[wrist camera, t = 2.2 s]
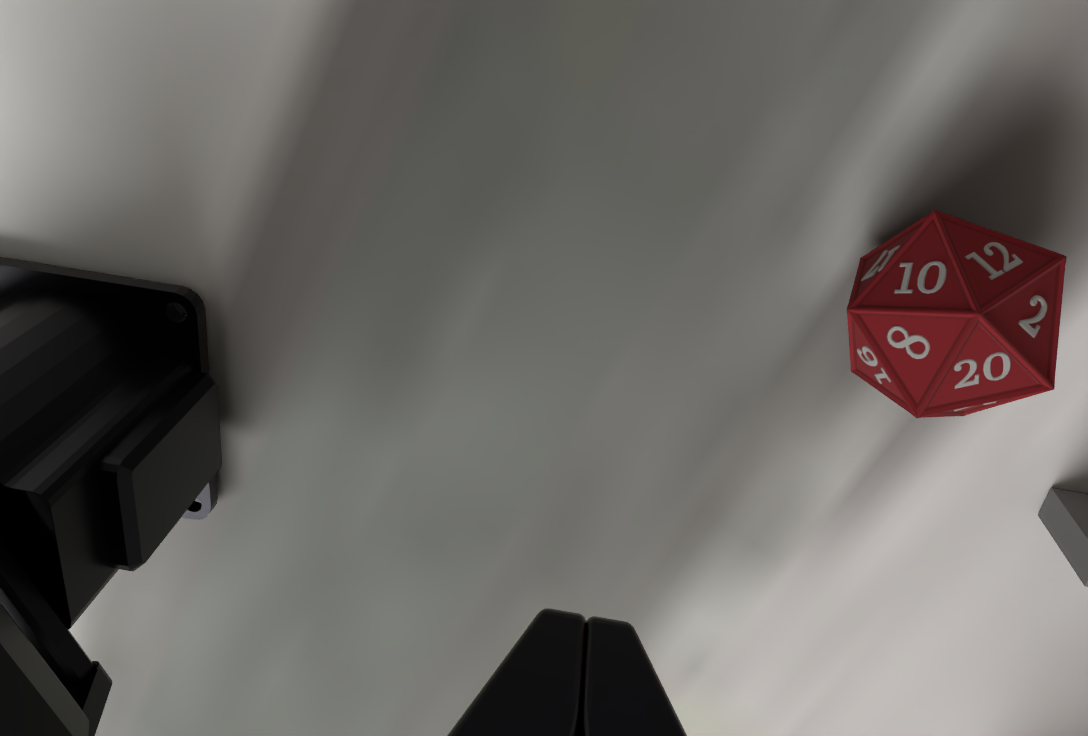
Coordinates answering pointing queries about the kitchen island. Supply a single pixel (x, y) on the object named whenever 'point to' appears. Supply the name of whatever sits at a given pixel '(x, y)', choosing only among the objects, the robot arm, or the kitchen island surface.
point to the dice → (956, 317)
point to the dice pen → (1069, 526)
